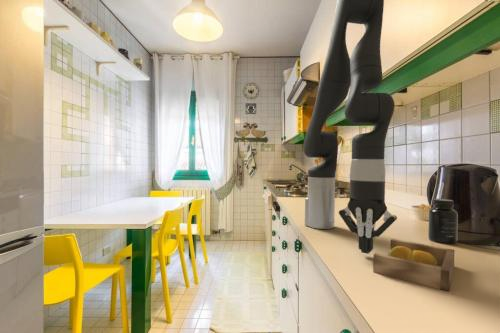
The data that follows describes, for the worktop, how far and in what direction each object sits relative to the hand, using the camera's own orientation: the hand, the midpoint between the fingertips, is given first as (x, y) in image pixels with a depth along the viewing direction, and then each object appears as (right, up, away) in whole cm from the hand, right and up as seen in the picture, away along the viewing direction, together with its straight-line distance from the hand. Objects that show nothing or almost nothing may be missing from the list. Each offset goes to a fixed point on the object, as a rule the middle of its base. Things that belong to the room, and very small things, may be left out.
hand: (365, 252), depth 62 cm
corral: (+7, -1, -7) cm, 10 cm away
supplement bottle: (+29, -2, +14) cm, 32 cm away
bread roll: (+8, -2, -5) cm, 9 cm away
